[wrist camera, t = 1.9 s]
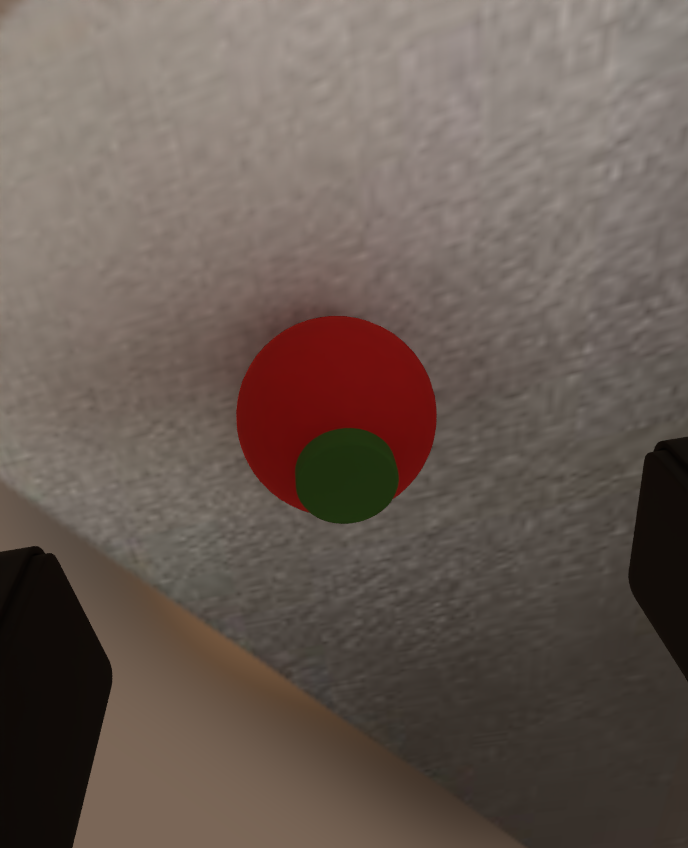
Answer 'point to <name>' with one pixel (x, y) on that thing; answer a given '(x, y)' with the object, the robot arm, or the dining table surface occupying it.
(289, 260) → the dining table surface
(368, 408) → the cherry tomato
